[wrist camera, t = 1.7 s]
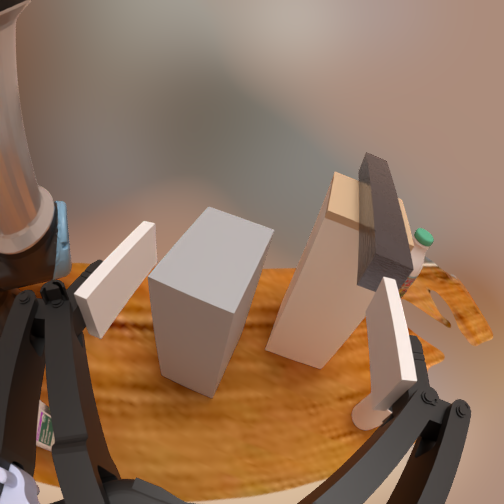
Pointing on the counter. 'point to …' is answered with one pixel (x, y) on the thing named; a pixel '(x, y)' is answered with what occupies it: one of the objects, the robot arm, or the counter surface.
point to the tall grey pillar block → (206, 297)
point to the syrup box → (44, 428)
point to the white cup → (368, 415)
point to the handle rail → (380, 228)
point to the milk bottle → (417, 257)
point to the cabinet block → (326, 282)
